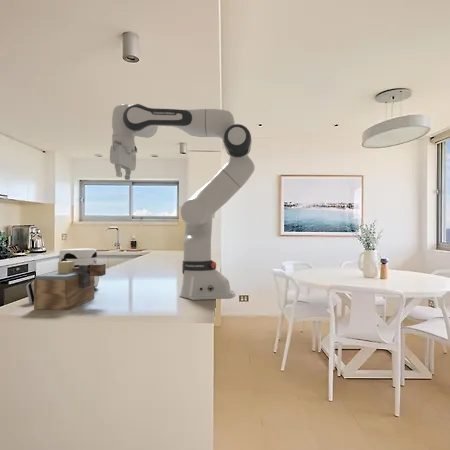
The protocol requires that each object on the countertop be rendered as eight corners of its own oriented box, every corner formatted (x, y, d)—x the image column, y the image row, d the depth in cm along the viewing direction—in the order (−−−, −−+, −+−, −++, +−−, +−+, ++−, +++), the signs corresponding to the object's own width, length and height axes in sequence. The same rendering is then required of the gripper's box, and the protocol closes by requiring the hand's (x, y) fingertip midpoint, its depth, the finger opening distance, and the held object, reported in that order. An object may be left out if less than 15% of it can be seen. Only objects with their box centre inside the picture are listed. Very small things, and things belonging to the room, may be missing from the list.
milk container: (106, 287, 163) (106, 248, 163) (82, 294, 147) (82, 251, 147) (75, 285, 168) (75, 248, 168) (47, 292, 151) (47, 250, 151)
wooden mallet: (105, 274, 131) (105, 263, 131) (100, 276, 127) (100, 265, 127) (76, 274, 132) (76, 263, 132) (71, 275, 128) (71, 264, 128)
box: (101, 297, 139) (101, 261, 139) (76, 309, 119) (76, 267, 119) (64, 297, 140) (64, 261, 140) (33, 309, 120) (33, 267, 120)
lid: (93, 275, 139) (93, 259, 139) (67, 282, 120) (67, 264, 120) (65, 274, 140) (65, 259, 140) (35, 282, 120) (35, 264, 120)
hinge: (42, 303, 129) (33, 277, 129) (30, 307, 129) (21, 282, 130) (67, 294, 145) (59, 271, 146) (57, 298, 146) (49, 275, 146)
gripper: (121, 138, 135) (121, 174, 135) (138, 149, 156) (138, 181, 156) (105, 138, 136) (105, 174, 136) (124, 150, 156) (124, 181, 156)
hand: (123, 178), depth 146 cm, fingers open, 8 cm apart
